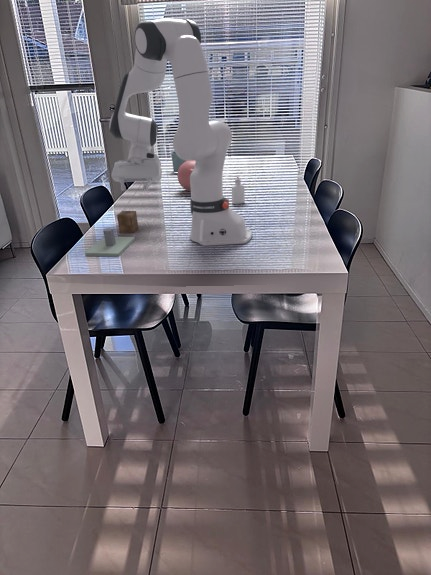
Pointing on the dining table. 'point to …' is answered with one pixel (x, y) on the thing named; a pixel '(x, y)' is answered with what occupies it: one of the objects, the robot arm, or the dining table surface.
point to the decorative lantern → (185, 174)
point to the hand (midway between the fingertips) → (134, 189)
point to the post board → (109, 249)
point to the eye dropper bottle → (238, 192)
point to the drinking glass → (176, 161)
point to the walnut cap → (127, 221)
